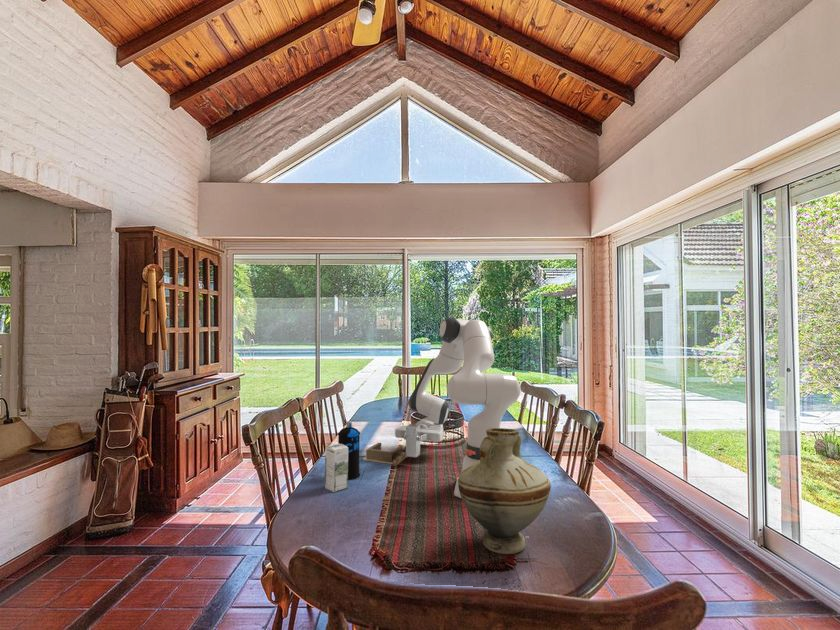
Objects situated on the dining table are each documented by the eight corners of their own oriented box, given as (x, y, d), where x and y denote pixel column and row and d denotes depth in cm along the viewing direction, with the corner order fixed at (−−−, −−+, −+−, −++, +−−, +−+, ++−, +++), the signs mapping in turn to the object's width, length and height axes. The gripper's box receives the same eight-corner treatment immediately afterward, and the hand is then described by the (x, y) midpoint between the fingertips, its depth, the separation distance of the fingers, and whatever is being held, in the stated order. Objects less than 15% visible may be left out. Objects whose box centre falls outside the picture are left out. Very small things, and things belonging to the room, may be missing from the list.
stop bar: (416, 457, 181) (416, 427, 181) (405, 456, 183) (406, 426, 183) (420, 454, 185) (420, 424, 185) (410, 453, 187) (410, 423, 187)
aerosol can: (332, 476, 167) (333, 421, 167) (350, 470, 173) (350, 418, 173) (346, 481, 161) (347, 425, 161) (364, 475, 168) (364, 421, 168)
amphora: (538, 527, 129) (531, 420, 132) (569, 565, 105) (559, 433, 108) (456, 533, 128) (450, 424, 131) (468, 572, 105) (461, 439, 107)
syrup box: (338, 483, 159) (338, 442, 159) (348, 488, 155) (348, 446, 155) (324, 488, 155) (324, 445, 155) (334, 493, 151) (334, 449, 151)
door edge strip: (395, 466, 178) (395, 461, 178) (393, 466, 179) (393, 460, 179) (410, 454, 193) (410, 450, 193) (408, 454, 193) (408, 449, 193)
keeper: (393, 464, 181) (393, 453, 181) (362, 460, 186) (362, 450, 186) (406, 454, 194) (406, 444, 194) (377, 450, 199) (377, 441, 199)
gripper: (401, 421, 200) (388, 428, 187) (446, 425, 193) (436, 432, 180) (401, 435, 200) (388, 443, 187) (446, 440, 192) (436, 448, 180)
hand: (412, 438), depth 183 cm, fingers closed on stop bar, 4 cm apart
